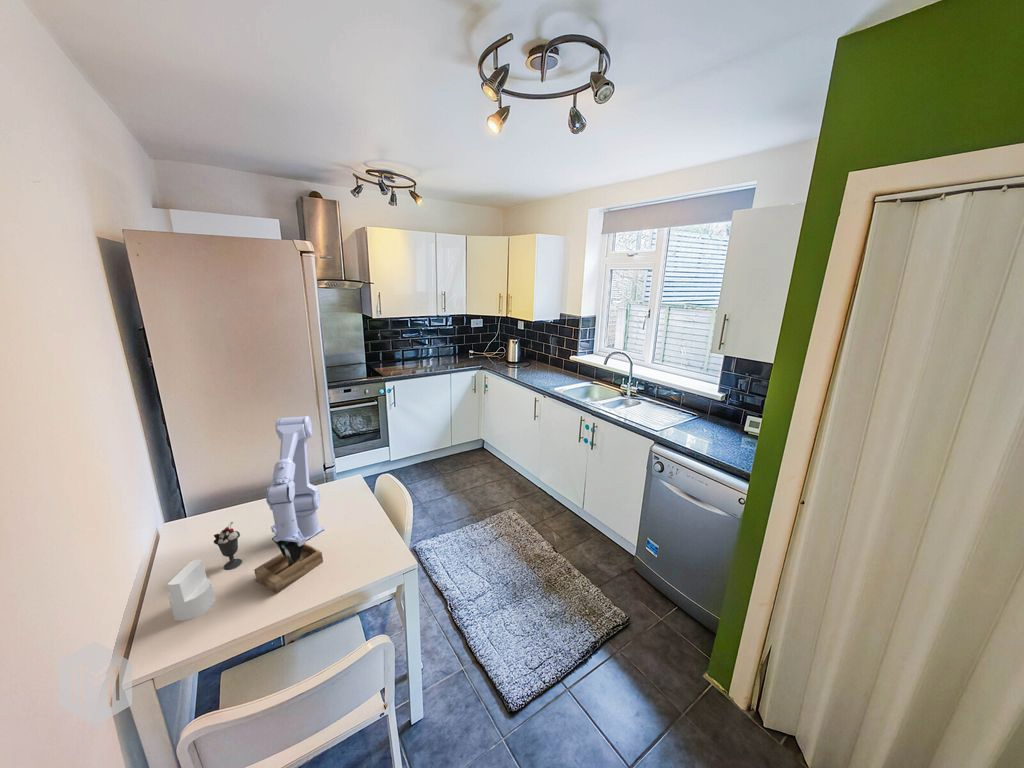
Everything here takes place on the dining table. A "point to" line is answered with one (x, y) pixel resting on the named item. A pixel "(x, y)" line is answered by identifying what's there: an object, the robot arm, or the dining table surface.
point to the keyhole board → (287, 569)
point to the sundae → (228, 546)
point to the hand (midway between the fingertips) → (291, 556)
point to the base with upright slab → (190, 592)
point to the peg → (288, 554)
